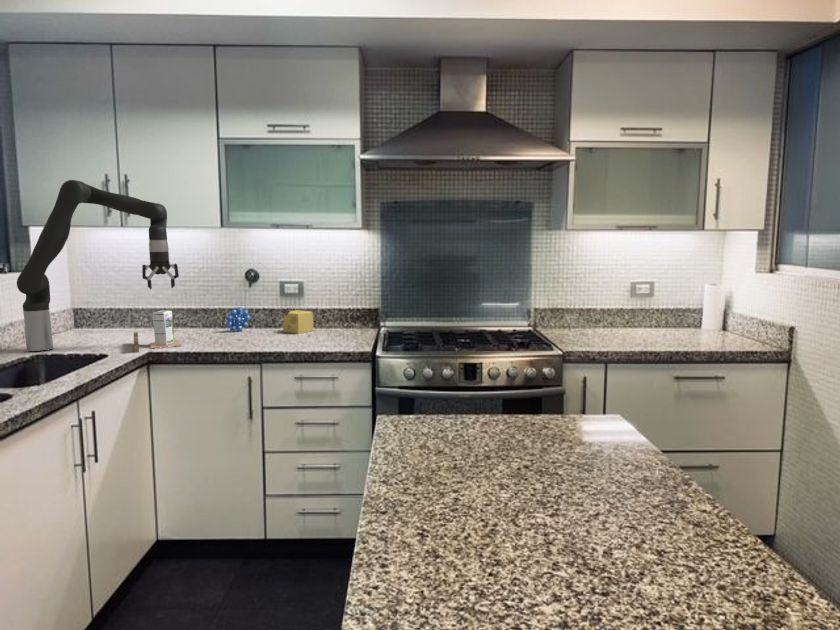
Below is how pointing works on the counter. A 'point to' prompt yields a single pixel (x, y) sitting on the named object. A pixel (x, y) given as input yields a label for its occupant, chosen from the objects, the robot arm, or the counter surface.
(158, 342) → the syrup box
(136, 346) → the walnut wall
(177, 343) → the terracotta tile
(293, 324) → the cheese
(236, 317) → the grapes
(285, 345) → the counter surface
